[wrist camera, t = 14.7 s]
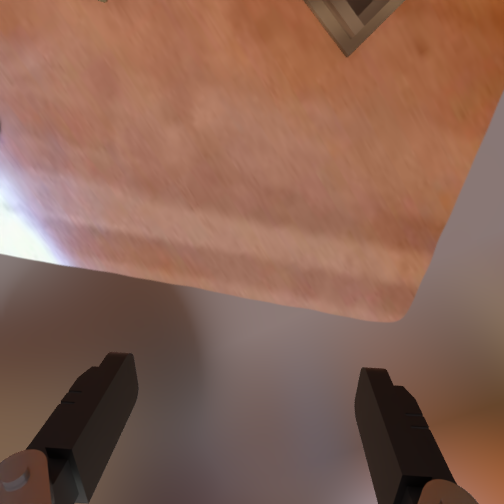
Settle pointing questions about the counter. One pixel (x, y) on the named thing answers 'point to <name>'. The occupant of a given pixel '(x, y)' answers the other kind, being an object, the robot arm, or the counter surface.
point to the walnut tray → (351, 19)
